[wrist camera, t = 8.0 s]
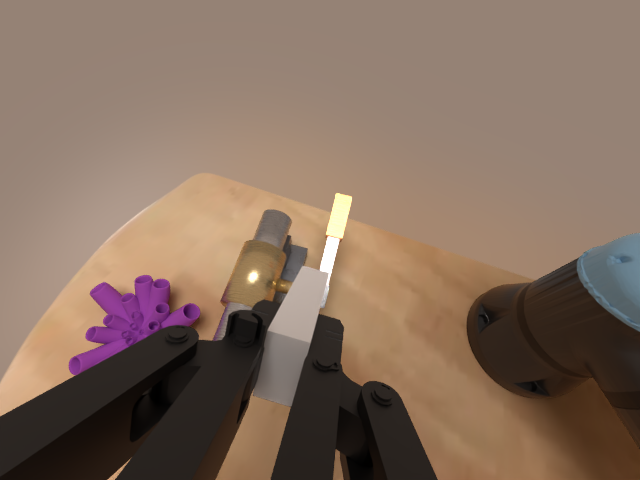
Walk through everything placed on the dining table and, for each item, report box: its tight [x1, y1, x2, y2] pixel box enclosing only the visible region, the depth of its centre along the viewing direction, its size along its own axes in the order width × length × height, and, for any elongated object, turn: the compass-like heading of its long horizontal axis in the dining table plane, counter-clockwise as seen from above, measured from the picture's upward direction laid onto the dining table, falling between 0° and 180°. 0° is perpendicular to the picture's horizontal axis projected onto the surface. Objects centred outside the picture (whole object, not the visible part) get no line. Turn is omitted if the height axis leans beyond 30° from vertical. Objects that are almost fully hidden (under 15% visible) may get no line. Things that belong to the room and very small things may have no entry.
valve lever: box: [320, 193, 352, 308], centre depth 38 cm, size 3×2×14 cm
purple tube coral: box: [69, 275, 200, 375], centre depth 37 cm, size 11×15×10 cm
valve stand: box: [212, 210, 308, 341], centre depth 40 cm, size 18×10×11 cm, turn 166°
